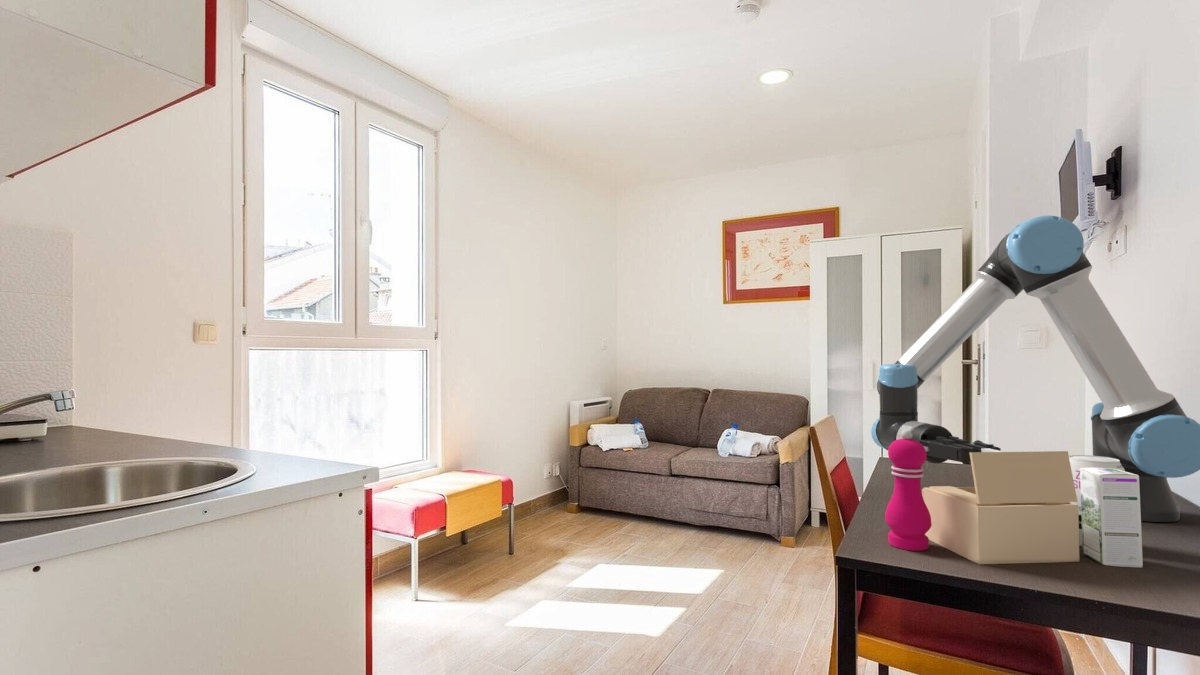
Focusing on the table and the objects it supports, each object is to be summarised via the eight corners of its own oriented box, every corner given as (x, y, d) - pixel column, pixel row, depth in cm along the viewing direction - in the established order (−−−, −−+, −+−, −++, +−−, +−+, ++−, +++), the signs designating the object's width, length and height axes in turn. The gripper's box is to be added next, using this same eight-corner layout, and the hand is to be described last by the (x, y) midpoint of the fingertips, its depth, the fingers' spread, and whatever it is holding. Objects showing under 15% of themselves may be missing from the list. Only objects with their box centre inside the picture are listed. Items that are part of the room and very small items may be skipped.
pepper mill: (878, 538, 108) (876, 427, 109) (918, 539, 108) (917, 427, 108) (896, 551, 101) (895, 432, 101) (940, 552, 101) (938, 432, 101)
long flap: (1075, 501, 97) (1065, 451, 99) (1077, 501, 96) (1067, 451, 98) (977, 503, 96) (969, 452, 97) (979, 503, 95) (971, 452, 97)
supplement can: (1112, 540, 108) (1110, 455, 108) (1136, 554, 100) (1134, 463, 100) (1058, 535, 110) (1056, 453, 111) (1077, 549, 102) (1075, 460, 103)
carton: (1009, 534, 111) (1008, 482, 111) (1079, 561, 96) (1078, 502, 96) (921, 536, 110) (920, 484, 110) (978, 564, 95) (977, 504, 95)
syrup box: (1144, 568, 93) (1142, 474, 94) (1101, 565, 94) (1099, 472, 95) (1121, 556, 99) (1118, 467, 99) (1080, 553, 100) (1078, 466, 100)
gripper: (956, 460, 122) (1051, 485, 99) (895, 461, 121) (975, 486, 98) (956, 423, 122) (1050, 439, 99) (894, 423, 121) (974, 440, 98)
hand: (1013, 462), depth 98 cm, fingers closed
